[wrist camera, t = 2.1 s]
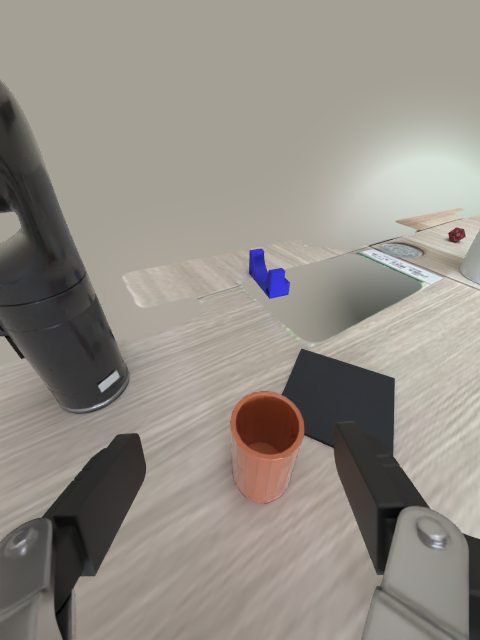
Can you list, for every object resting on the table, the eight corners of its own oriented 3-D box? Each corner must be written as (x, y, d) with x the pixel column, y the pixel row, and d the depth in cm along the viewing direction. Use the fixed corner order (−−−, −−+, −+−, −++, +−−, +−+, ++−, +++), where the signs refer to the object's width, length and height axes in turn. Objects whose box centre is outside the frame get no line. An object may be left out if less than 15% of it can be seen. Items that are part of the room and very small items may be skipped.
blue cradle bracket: (288, 294, 56) (291, 270, 52) (269, 298, 55) (271, 273, 51) (265, 270, 65) (267, 247, 61) (249, 273, 64) (249, 250, 60)
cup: (222, 484, 27) (217, 438, 21) (247, 432, 32) (249, 381, 25) (278, 516, 25) (291, 475, 19) (296, 456, 29) (312, 406, 23)
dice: (461, 244, 78) (468, 231, 75) (444, 241, 80) (450, 228, 78) (462, 241, 80) (469, 228, 78) (445, 237, 82) (452, 225, 80)
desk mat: (271, 420, 33) (271, 418, 33) (301, 350, 43) (301, 348, 42) (391, 472, 28) (393, 471, 28) (393, 380, 38) (394, 378, 38)
